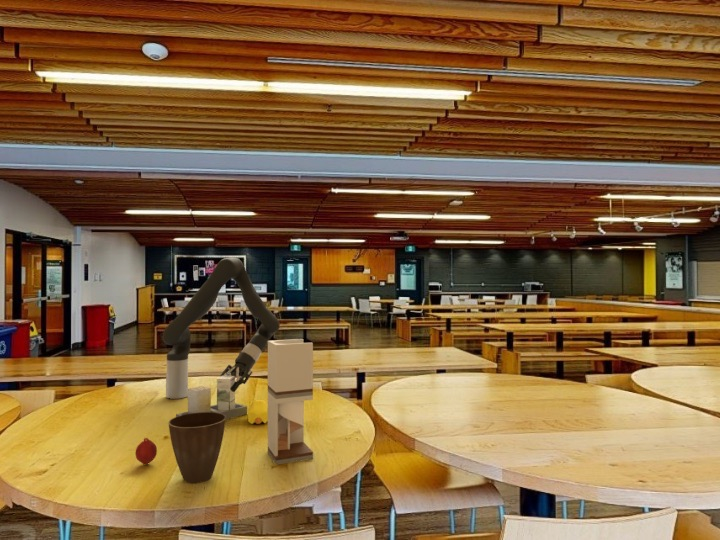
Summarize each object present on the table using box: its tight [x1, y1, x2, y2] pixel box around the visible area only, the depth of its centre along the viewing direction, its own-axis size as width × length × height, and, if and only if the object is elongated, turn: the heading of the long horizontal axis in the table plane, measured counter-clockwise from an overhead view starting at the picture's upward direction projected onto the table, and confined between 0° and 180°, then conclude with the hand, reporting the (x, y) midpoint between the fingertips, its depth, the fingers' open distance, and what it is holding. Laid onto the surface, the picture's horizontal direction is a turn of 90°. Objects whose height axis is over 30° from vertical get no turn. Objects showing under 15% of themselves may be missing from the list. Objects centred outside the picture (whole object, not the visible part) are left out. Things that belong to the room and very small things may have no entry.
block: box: [187, 385, 212, 414], centre depth 184 cm, size 6×6×12 cm
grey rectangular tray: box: [175, 402, 248, 421], centre depth 188 cm, size 12×24×3 cm, turn 142°
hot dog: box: [247, 399, 268, 425], centre depth 187 cm, size 18×7×8 cm
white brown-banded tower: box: [267, 338, 314, 465], centre depth 149 cm, size 11×11×35 cm
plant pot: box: [168, 412, 226, 484], centre depth 132 cm, size 15×15×16 cm
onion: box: [134, 437, 158, 465], centre depth 141 cm, size 6×6×8 cm
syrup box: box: [216, 376, 236, 412], centre depth 193 cm, size 6×6×14 cm
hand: (225, 389), depth 193 cm, fingers open, 8 cm apart
